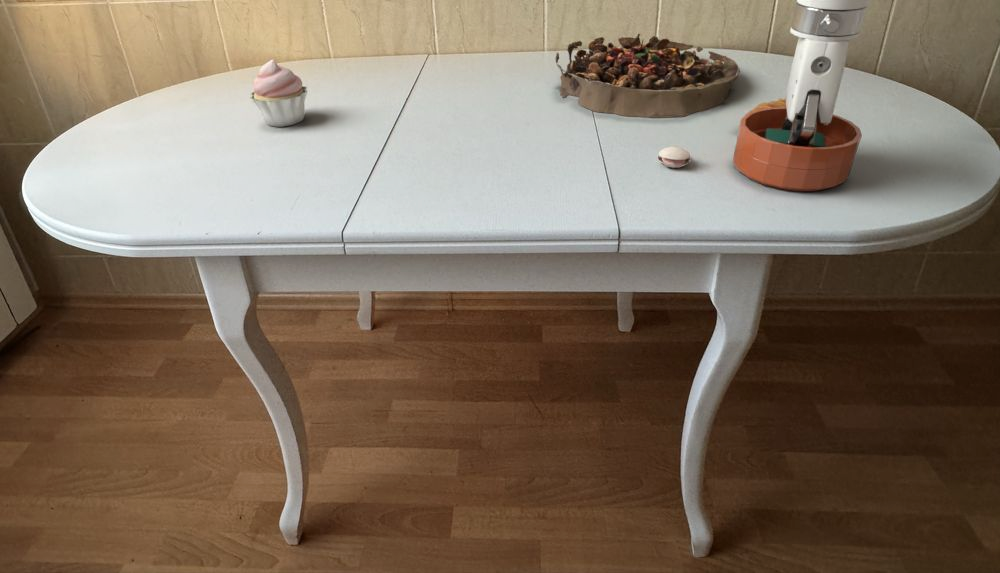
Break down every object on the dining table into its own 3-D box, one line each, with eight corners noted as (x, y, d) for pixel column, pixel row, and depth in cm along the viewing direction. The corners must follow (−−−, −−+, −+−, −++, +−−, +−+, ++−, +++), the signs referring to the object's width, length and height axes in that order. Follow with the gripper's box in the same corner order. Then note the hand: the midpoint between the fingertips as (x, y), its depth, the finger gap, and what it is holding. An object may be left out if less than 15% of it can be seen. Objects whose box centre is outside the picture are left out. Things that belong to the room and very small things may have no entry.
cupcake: (321, 122, 103) (308, 61, 98) (264, 135, 100) (247, 72, 94) (305, 107, 110) (292, 48, 104) (251, 118, 106) (235, 58, 100)
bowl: (841, 153, 87) (854, 111, 84) (853, 199, 76) (868, 154, 73) (733, 143, 91) (741, 103, 88) (730, 186, 80) (739, 142, 77)
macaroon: (656, 169, 85) (658, 152, 84) (658, 154, 89) (660, 138, 88) (688, 172, 84) (691, 155, 83) (689, 157, 88) (692, 140, 86)
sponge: (815, 160, 84) (823, 132, 82) (817, 174, 81) (826, 146, 79) (760, 155, 86) (766, 128, 84) (760, 169, 83) (767, 140, 81)
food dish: (580, 56, 134) (582, 17, 129) (740, 71, 124) (749, 30, 119) (526, 104, 107) (527, 57, 102) (726, 128, 97) (737, 77, 92)
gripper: (873, 41, 65) (826, 194, 76) (853, 5, 79) (815, 140, 89) (796, 37, 67) (760, 187, 78) (789, 3, 81) (760, 135, 91)
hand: (790, 160), depth 83 cm, fingers open, 6 cm apart
